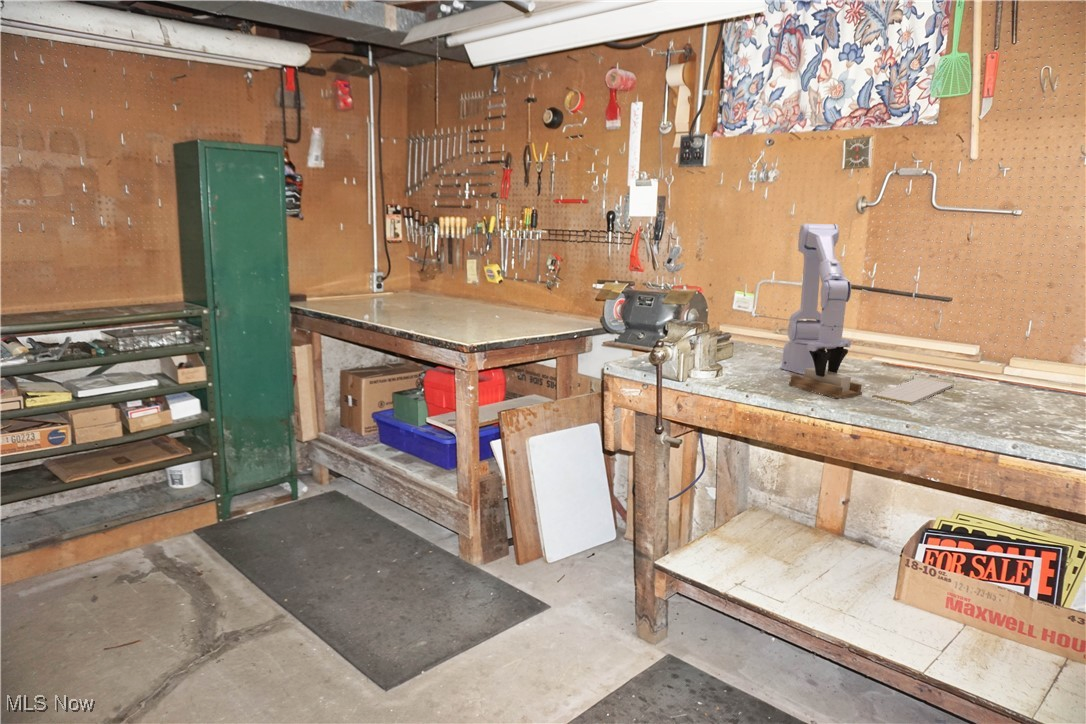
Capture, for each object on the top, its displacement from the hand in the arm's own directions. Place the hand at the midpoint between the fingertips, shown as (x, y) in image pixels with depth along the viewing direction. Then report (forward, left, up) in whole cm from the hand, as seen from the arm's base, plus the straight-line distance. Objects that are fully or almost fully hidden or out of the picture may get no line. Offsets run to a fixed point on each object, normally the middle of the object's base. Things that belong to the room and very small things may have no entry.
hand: (826, 375), depth 185 cm
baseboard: (+10, +22, -5) cm, 24 cm away
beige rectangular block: (0, 0, -3) cm, 3 cm away
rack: (0, 0, -4) cm, 4 cm away
